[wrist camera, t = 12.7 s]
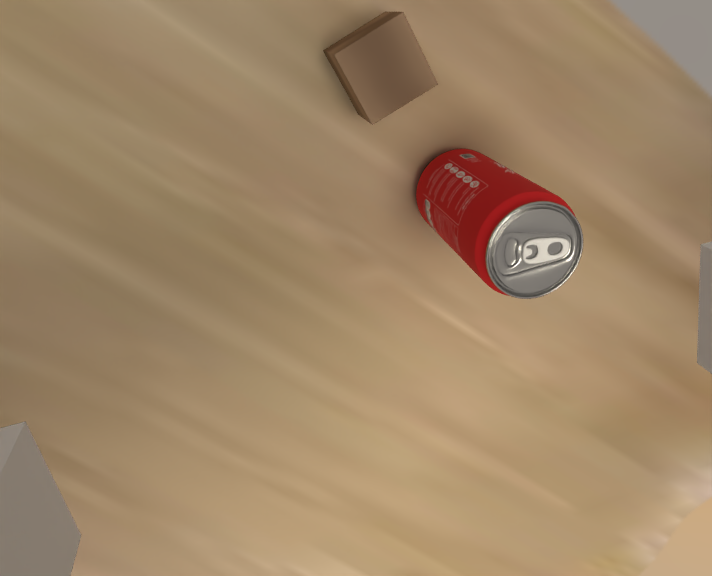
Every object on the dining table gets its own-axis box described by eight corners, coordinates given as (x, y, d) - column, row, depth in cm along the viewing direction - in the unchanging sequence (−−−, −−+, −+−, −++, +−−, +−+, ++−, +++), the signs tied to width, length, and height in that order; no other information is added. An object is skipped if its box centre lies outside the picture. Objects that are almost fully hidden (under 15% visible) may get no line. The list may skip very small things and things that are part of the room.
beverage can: (410, 149, 40) (481, 203, 29) (492, 141, 40) (592, 190, 29) (412, 232, 42) (480, 311, 31) (491, 222, 42) (584, 296, 31)
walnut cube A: (357, 113, 38) (372, 124, 35) (323, 50, 37) (334, 54, 33) (417, 77, 38) (437, 84, 34) (385, 11, 36) (403, 11, 33)
